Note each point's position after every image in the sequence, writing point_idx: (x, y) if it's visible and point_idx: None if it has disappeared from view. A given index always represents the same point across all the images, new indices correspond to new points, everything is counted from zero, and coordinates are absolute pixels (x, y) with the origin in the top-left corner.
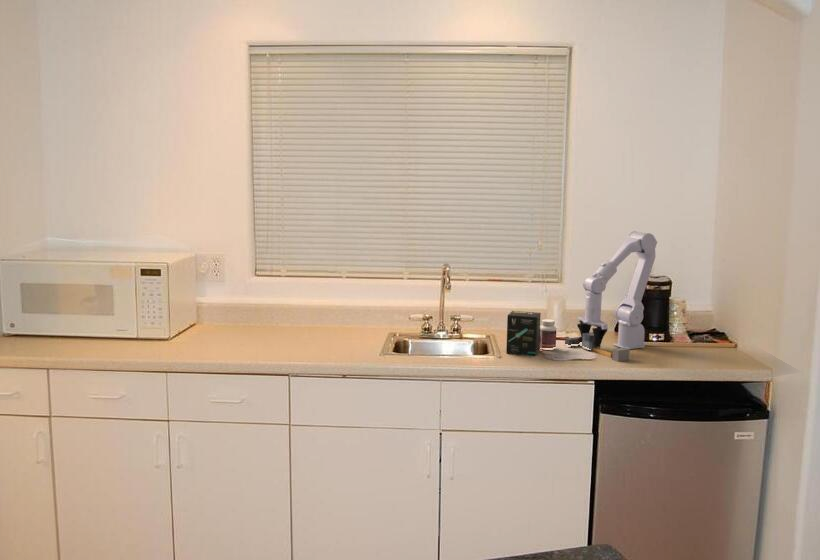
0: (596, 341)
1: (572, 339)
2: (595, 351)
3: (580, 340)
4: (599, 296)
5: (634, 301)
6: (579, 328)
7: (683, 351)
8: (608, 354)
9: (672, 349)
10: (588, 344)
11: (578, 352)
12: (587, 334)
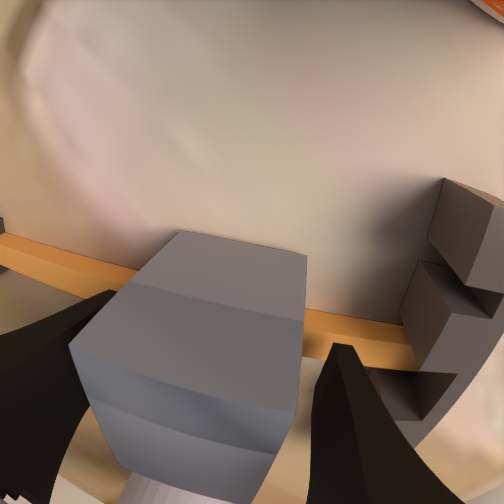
0: (59, 318)
1: (470, 272)
2: None
3: (421, 388)
4: None
5: None
6: (433, 500)
7: (84, 467)
8: (18, 244)
9: (108, 476)
10: (162, 265)
11: (212, 89)
12: (167, 404)
